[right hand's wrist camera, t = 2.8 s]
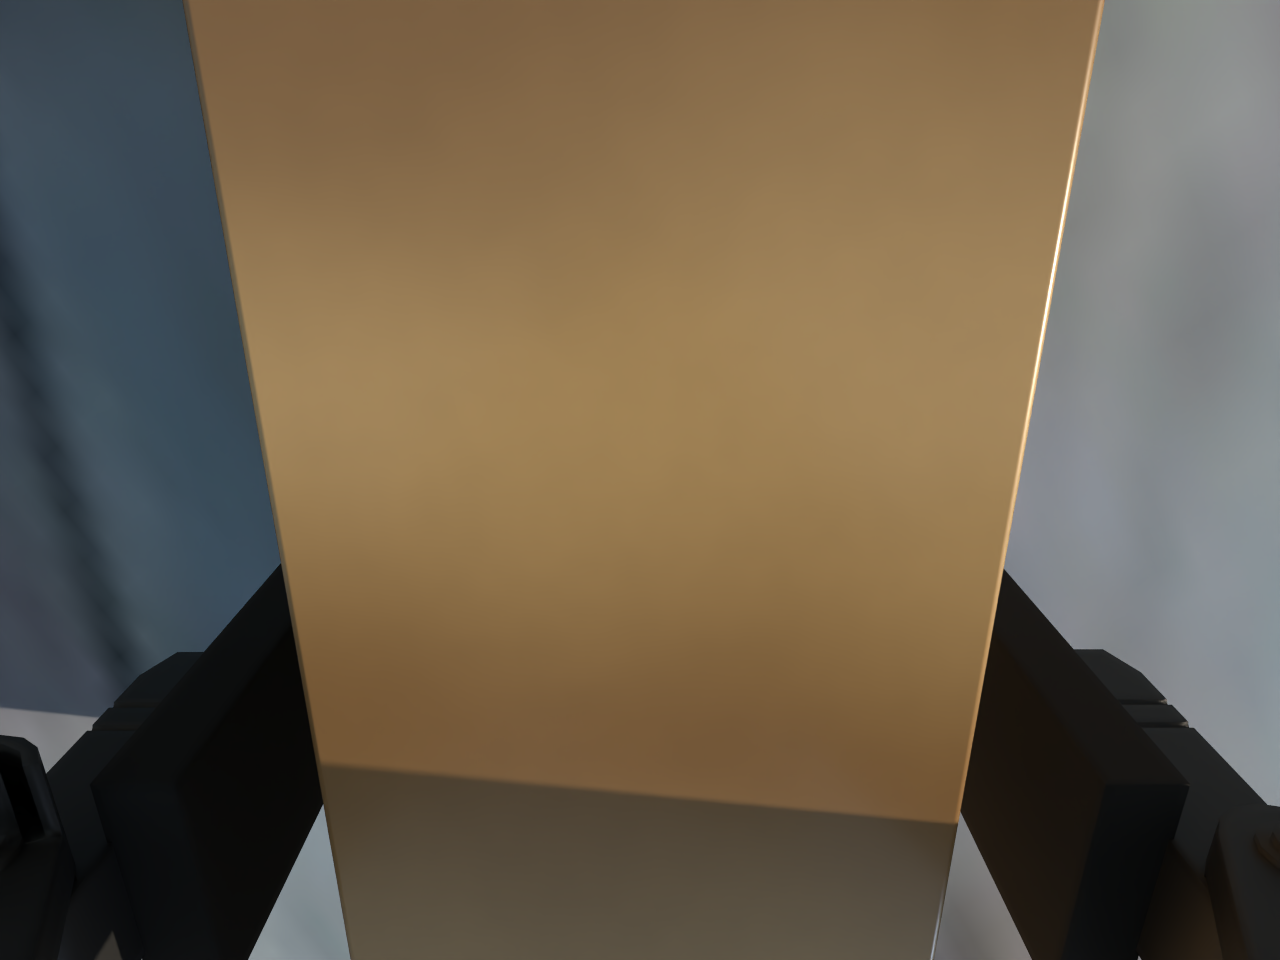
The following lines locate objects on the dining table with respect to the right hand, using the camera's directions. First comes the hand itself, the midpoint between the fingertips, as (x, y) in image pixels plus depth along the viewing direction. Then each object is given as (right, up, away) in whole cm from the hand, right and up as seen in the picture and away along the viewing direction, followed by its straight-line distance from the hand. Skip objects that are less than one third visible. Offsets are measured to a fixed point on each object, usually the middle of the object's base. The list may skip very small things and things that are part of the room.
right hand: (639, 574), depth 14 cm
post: (0, +27, -9) cm, 29 cm away
